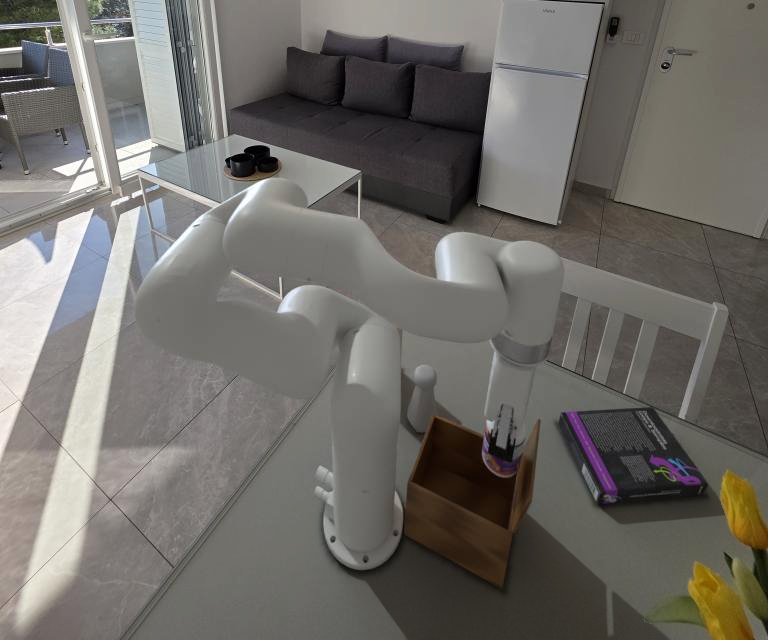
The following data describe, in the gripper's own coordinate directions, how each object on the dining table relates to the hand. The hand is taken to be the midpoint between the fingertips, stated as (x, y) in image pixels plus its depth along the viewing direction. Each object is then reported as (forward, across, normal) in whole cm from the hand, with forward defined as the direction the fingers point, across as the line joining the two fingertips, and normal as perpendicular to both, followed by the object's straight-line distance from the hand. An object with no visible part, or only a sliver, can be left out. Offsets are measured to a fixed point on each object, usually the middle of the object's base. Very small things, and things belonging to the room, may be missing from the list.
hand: (503, 434), depth 61 cm
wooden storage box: (+20, 0, -4) cm, 21 cm away
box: (+21, -22, +21) cm, 36 cm away
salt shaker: (+21, -12, -15) cm, 28 cm away
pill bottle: (+5, 0, 0) cm, 5 cm away
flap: (+5, 0, +4) cm, 6 cm away
